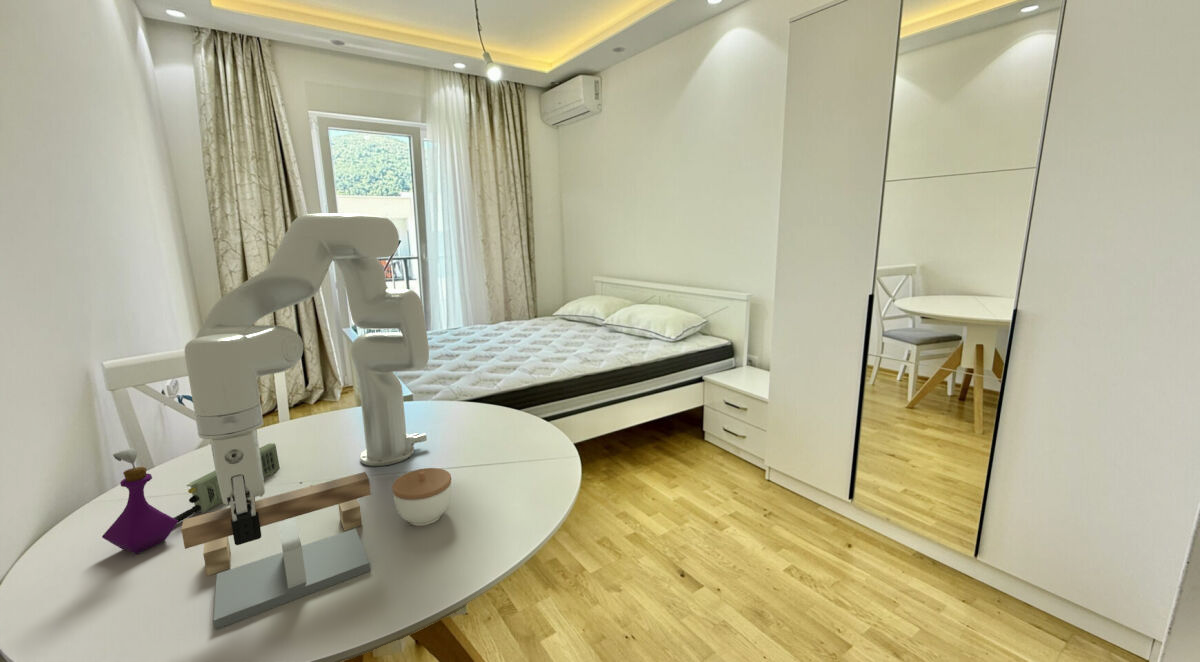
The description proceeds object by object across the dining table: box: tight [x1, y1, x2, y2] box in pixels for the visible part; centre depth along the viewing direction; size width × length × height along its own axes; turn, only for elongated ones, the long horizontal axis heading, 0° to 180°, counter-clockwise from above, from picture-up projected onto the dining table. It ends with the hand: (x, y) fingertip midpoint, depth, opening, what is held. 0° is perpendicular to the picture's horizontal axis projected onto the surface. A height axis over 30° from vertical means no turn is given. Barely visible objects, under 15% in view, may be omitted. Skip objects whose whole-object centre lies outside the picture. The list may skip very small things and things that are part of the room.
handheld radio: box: [173, 443, 281, 524], centre depth 102 cm, size 7×3×25 cm
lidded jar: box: [391, 467, 452, 527], centre depth 93 cm, size 11×11×9 cm
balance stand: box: [213, 517, 371, 631], centre depth 76 cm, size 20×12×8 cm, turn 127°
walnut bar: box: [181, 471, 372, 549], centre depth 75 cm, size 24×3×3 cm, turn 127°
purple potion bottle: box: [101, 448, 178, 555], centre depth 84 cm, size 8×8×18 cm
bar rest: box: [202, 499, 363, 576], centre depth 86 cm, size 23×5×4 cm, turn 127°
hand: (248, 534), depth 72 cm, fingers closed on walnut bar, 3 cm apart
